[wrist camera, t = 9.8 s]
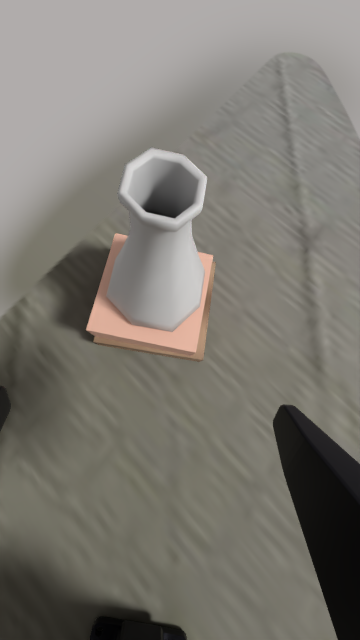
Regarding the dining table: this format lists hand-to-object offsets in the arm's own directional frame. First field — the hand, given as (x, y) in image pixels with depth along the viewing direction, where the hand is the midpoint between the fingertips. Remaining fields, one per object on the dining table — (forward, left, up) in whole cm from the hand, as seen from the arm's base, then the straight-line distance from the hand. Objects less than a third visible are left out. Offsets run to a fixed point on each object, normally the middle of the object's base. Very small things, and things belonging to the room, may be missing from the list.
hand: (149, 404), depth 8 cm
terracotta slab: (+7, +2, -11) cm, 14 cm away
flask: (+8, +1, -9) cm, 12 cm away
